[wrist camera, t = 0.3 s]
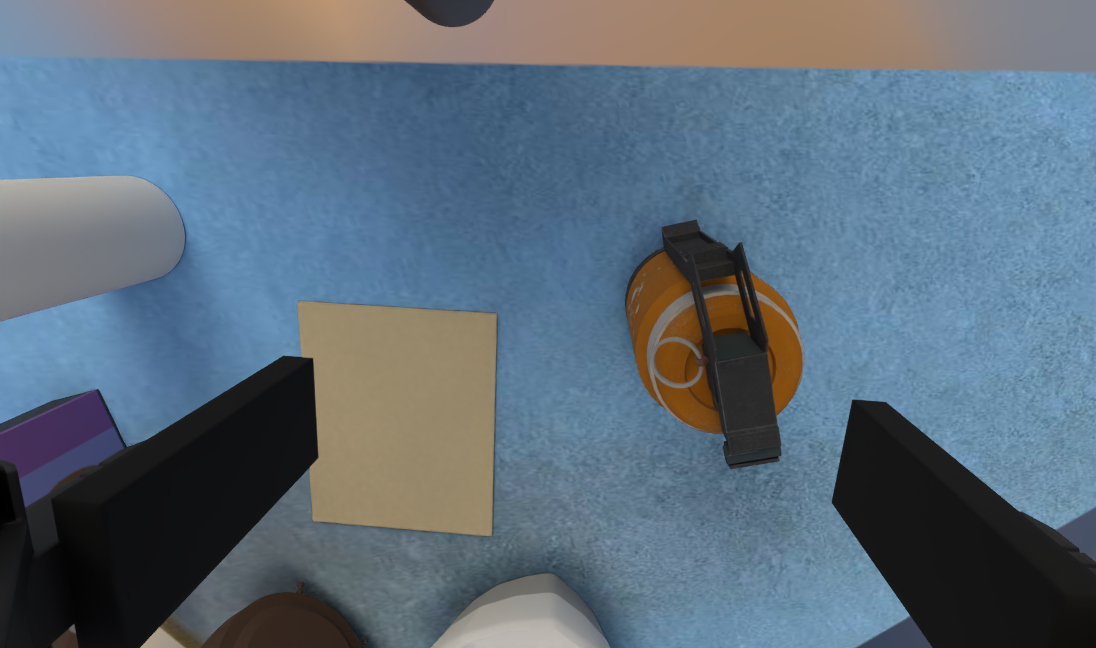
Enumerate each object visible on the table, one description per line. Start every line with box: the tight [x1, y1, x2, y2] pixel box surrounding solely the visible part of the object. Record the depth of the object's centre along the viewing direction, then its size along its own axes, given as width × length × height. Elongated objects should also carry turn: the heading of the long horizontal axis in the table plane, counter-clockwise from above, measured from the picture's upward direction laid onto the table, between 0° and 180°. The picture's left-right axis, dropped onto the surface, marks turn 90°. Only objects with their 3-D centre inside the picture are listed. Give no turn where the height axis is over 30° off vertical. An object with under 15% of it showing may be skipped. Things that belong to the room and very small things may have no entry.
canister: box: [625, 220, 804, 469], centre depth 36 cm, size 9×11×20 cm
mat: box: [298, 301, 497, 536], centre depth 50 cm, size 20×16×1 cm
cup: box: [0, 176, 185, 321], centre depth 39 cm, size 8×8×16 cm
